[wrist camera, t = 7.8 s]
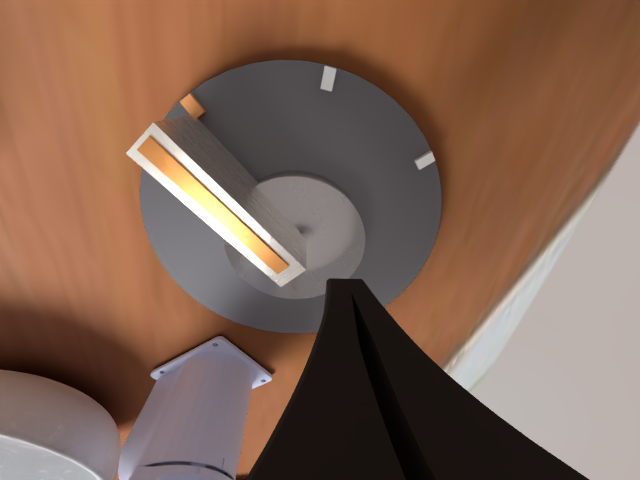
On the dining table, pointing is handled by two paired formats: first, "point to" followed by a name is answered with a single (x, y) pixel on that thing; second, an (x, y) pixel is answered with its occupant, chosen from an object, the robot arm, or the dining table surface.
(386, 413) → the robot arm
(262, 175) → the dial plate
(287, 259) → the grey bar on dome
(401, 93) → the dining table surface
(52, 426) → the serving bowl
